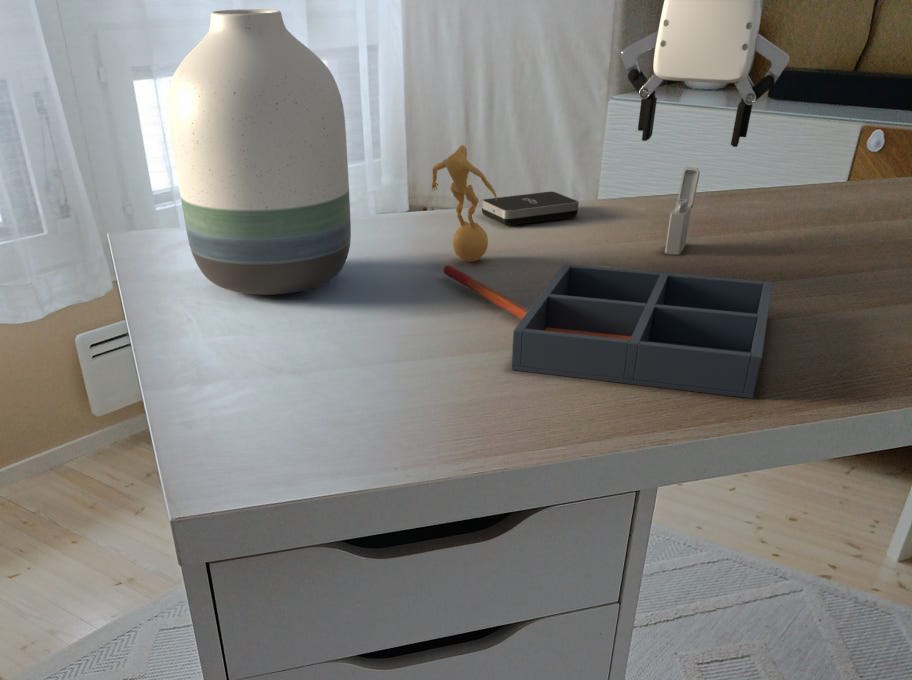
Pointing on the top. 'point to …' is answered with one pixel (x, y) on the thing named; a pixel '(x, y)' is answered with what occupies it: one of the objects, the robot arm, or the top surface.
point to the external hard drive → (530, 208)
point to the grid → (647, 330)
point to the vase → (260, 157)
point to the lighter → (682, 212)
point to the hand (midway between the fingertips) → (690, 141)
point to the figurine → (468, 236)
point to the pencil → (486, 292)
